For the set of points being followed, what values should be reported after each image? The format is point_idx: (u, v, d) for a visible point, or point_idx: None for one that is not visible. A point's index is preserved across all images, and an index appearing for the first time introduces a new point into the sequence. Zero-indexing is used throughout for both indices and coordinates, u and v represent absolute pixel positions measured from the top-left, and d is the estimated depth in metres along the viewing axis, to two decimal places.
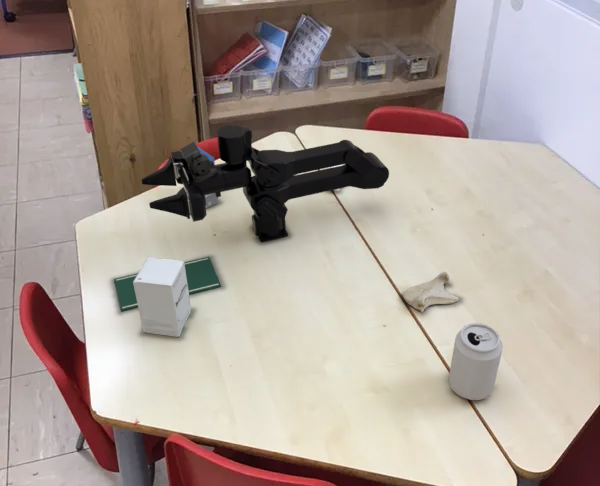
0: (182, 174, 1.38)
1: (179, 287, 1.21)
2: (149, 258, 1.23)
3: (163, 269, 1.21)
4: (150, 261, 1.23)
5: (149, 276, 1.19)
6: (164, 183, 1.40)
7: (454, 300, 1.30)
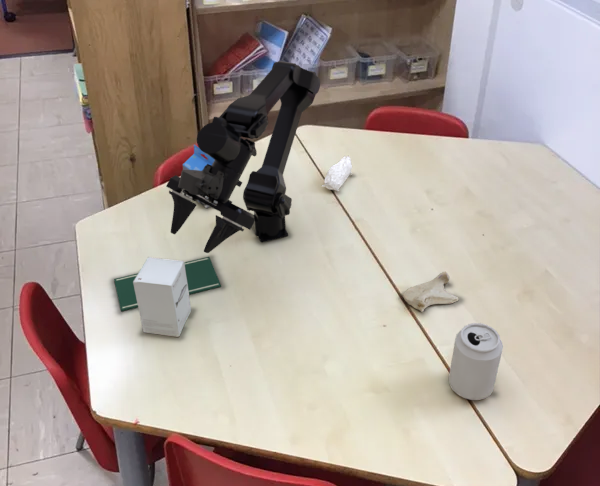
0: (195, 196, 1.27)
1: (179, 287, 1.21)
2: (149, 258, 1.23)
3: (163, 269, 1.21)
4: (150, 261, 1.23)
5: (150, 276, 1.19)
6: (188, 214, 1.29)
7: (454, 300, 1.30)
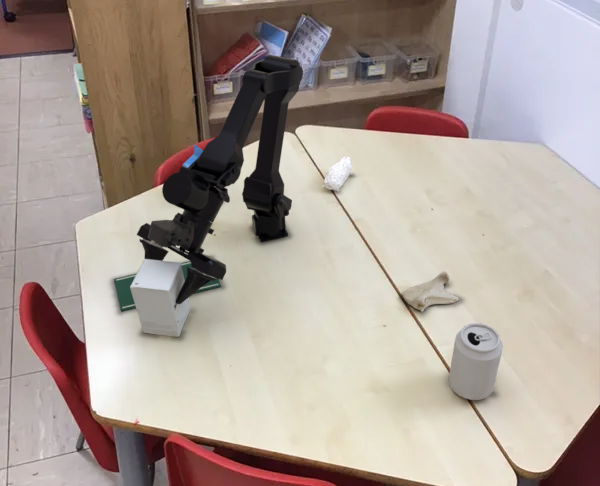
0: None
1: (177, 289, 1.20)
2: (145, 260, 1.22)
3: (160, 272, 1.19)
4: (146, 263, 1.21)
5: (146, 280, 1.18)
6: None
7: (454, 300, 1.30)
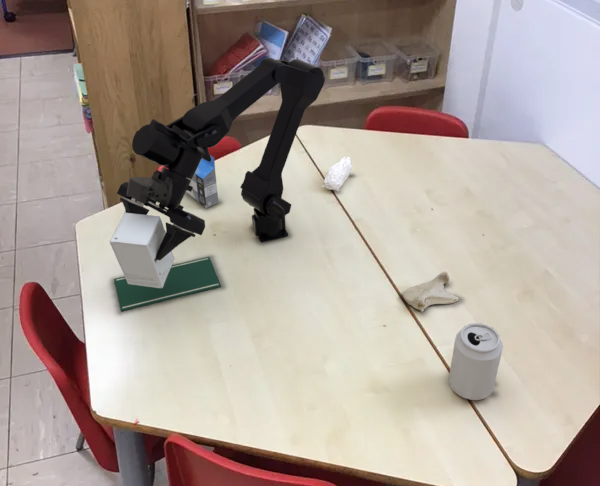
0: None
1: (157, 243, 1.21)
2: (125, 214, 1.23)
3: (139, 226, 1.20)
4: (126, 217, 1.22)
5: (125, 234, 1.19)
6: None
7: (454, 300, 1.30)
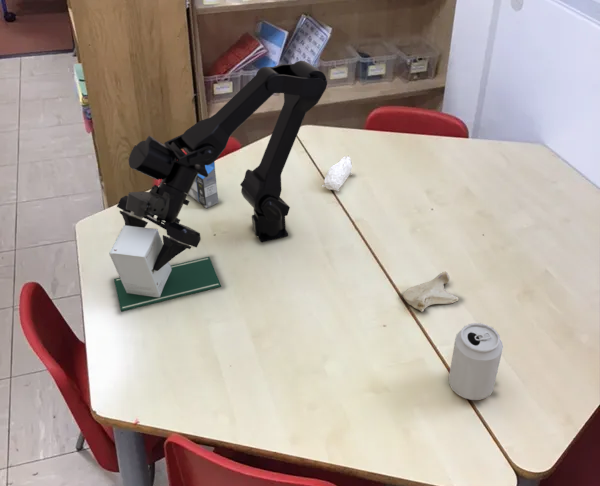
0: None
1: (154, 254, 1.27)
2: (125, 226, 1.29)
3: (137, 239, 1.26)
4: (125, 230, 1.28)
5: (124, 246, 1.25)
6: None
7: (454, 300, 1.30)
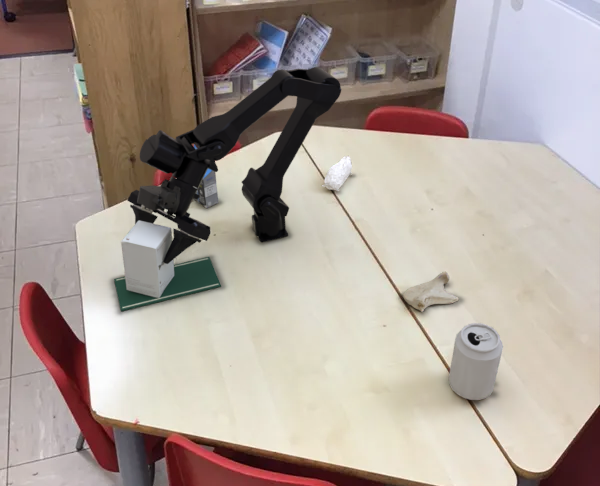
0: None
1: (164, 251, 1.29)
2: (139, 221, 1.31)
3: (150, 232, 1.28)
4: (140, 224, 1.31)
5: (137, 237, 1.27)
6: None
7: (454, 300, 1.30)
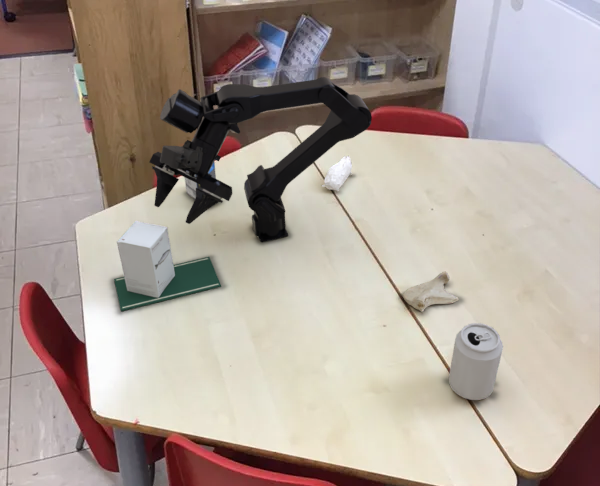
0: (176, 170, 1.34)
1: (160, 250, 1.29)
2: (136, 222, 1.32)
3: (146, 232, 1.29)
4: (136, 224, 1.31)
5: (133, 237, 1.28)
6: (170, 187, 1.37)
7: (454, 300, 1.30)
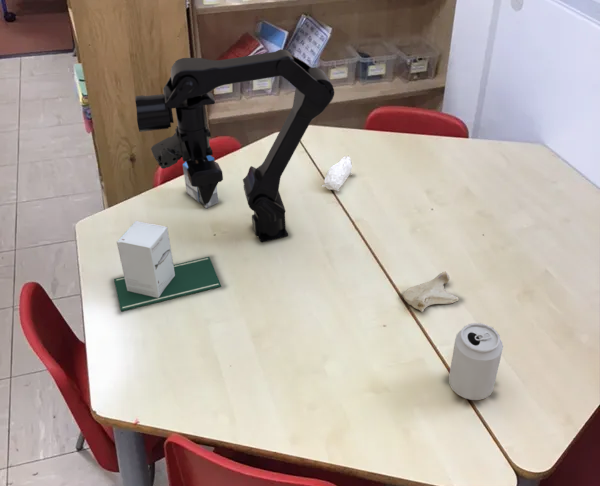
0: None
1: (160, 250, 1.29)
2: (136, 222, 1.32)
3: (146, 232, 1.29)
4: (136, 224, 1.31)
5: (132, 237, 1.28)
6: None
7: (454, 300, 1.30)
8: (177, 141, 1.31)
